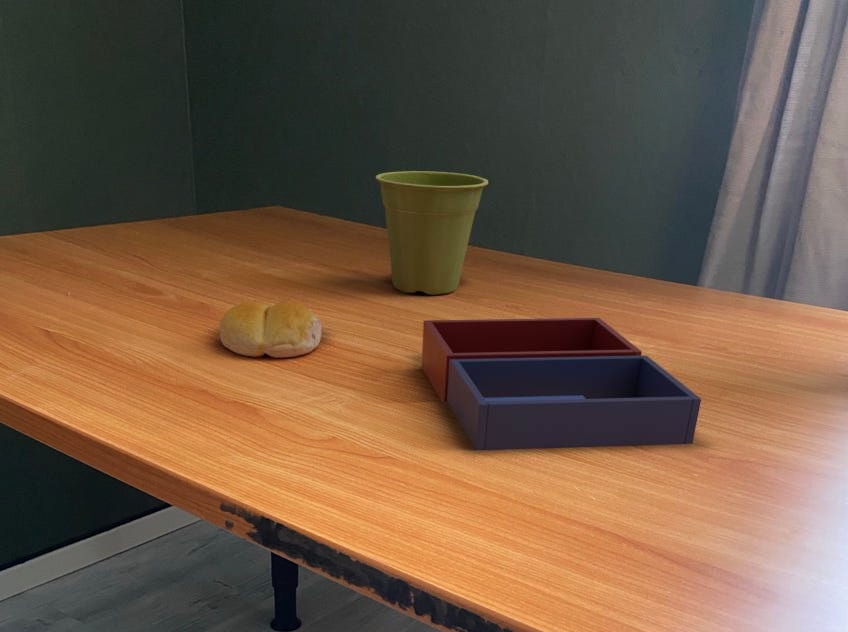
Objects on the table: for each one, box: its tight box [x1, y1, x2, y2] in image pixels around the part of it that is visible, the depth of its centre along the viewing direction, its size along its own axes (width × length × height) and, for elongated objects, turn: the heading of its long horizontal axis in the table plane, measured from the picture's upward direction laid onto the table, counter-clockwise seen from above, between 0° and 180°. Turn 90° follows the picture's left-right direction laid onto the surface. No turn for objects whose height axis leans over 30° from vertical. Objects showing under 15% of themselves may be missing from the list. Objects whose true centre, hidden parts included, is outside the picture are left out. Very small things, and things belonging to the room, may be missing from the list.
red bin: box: [421, 317, 643, 403], centre depth 80 cm, size 15×10×4 cm
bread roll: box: [218, 299, 323, 359], centre depth 88 cm, size 8×9×4 cm
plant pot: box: [375, 170, 489, 296], centre depth 107 cm, size 12×12×11 cm
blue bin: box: [446, 355, 702, 452], centre depth 71 cm, size 15×10×4 cm
